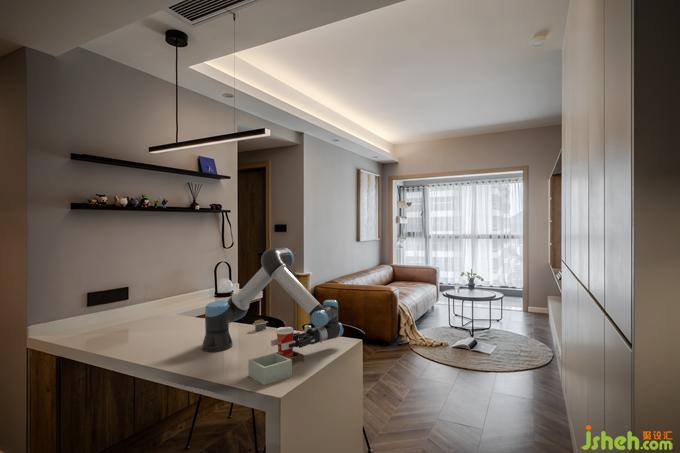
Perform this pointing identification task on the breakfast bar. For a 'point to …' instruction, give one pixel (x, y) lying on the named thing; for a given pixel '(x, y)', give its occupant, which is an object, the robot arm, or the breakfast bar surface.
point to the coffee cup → (285, 340)
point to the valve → (307, 328)
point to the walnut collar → (296, 357)
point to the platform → (260, 325)
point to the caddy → (270, 368)
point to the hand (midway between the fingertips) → (276, 345)
